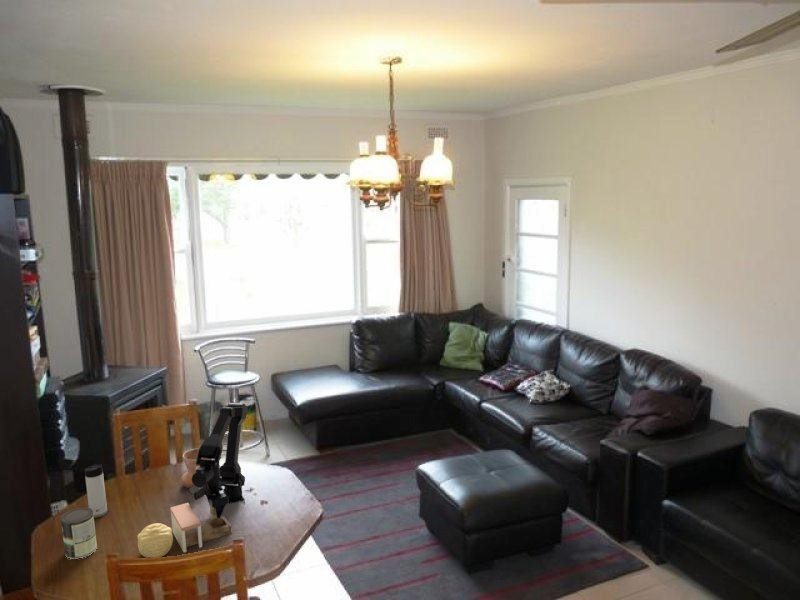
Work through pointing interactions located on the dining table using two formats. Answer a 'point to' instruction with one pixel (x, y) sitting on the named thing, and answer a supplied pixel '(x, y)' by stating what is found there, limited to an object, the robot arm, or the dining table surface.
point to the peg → (212, 512)
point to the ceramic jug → (190, 466)
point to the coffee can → (78, 533)
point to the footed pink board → (184, 523)
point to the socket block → (208, 531)
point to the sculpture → (155, 540)
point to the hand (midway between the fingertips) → (215, 512)
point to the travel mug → (96, 490)
